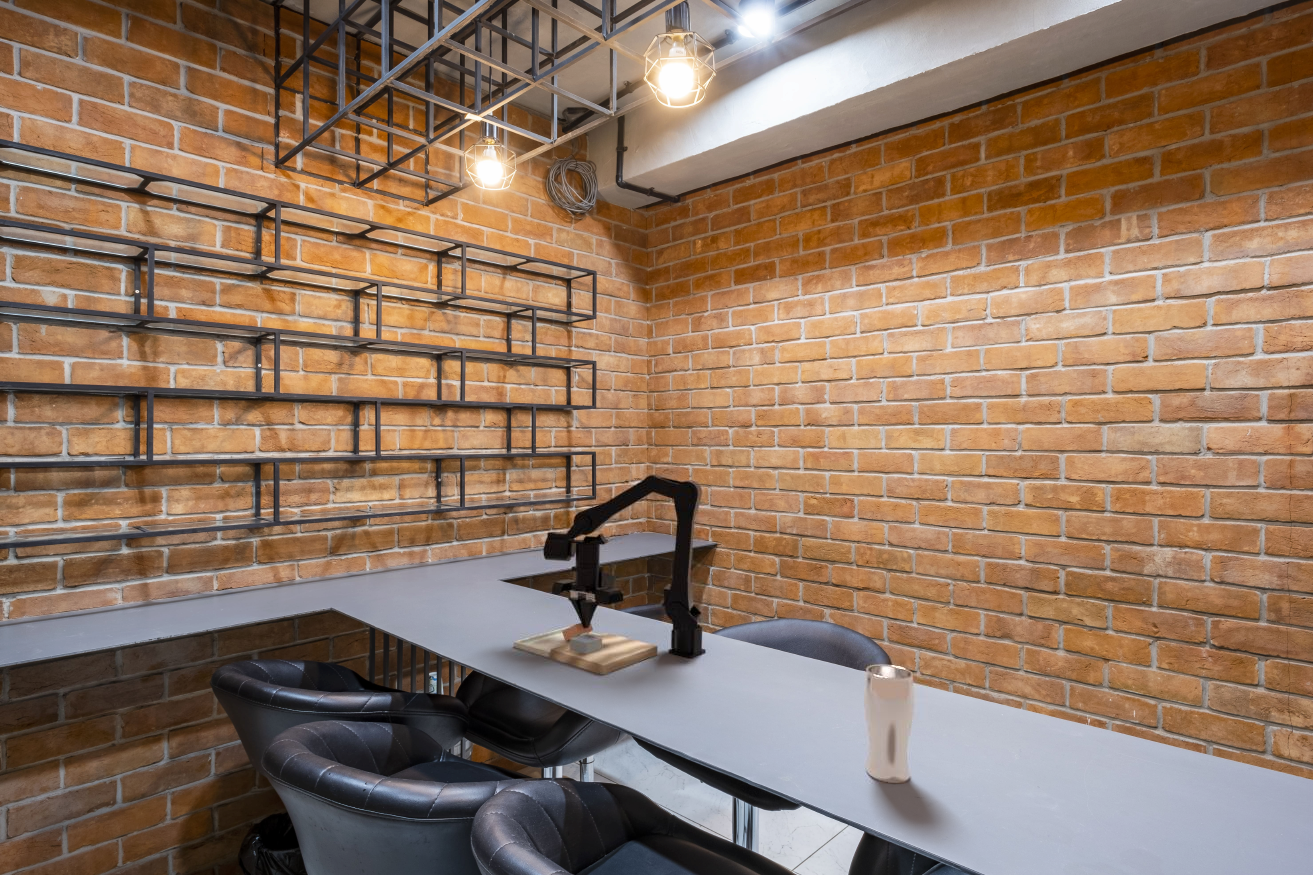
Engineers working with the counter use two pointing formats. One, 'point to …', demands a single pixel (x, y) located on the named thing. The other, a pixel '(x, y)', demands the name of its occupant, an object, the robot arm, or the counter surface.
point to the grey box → (586, 644)
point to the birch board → (607, 654)
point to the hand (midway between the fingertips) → (586, 627)
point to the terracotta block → (576, 631)
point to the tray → (544, 642)
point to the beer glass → (888, 721)
